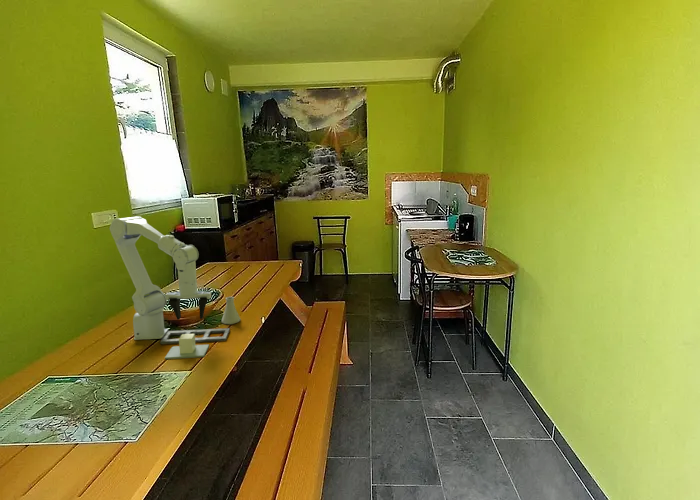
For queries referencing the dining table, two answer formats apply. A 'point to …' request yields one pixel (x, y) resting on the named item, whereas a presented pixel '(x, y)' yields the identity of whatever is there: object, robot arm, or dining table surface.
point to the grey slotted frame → (204, 331)
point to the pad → (197, 352)
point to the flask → (230, 312)
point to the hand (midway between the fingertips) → (190, 318)
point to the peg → (187, 343)
